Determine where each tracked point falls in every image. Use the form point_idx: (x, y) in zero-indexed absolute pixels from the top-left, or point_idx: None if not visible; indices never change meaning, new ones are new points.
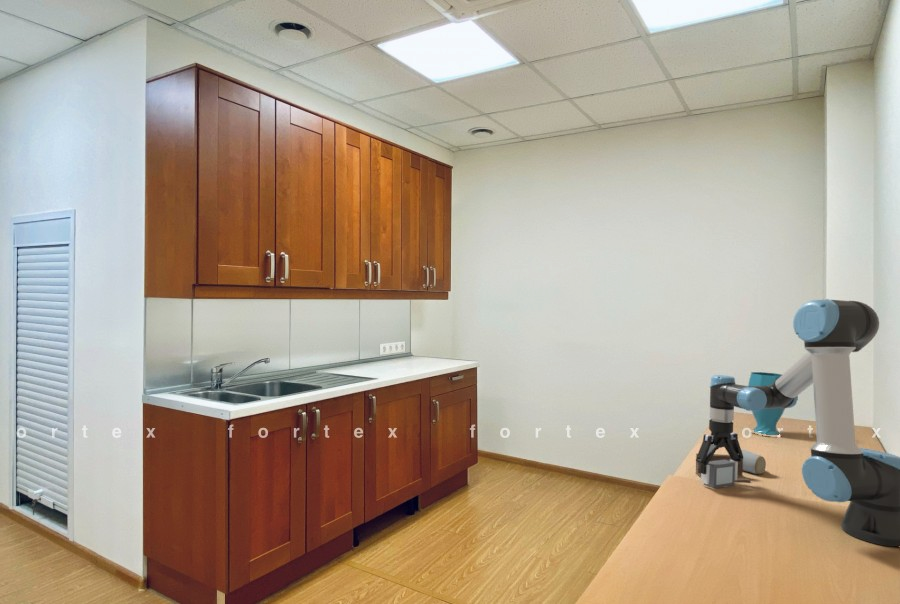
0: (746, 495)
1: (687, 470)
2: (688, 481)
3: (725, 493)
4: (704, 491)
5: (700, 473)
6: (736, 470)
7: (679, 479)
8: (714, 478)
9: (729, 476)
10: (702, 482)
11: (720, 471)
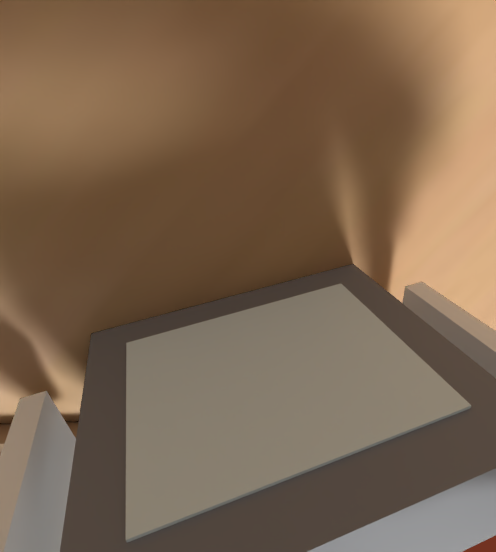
0: (182, 2)
1: None
2: None
3: (367, 130)
4: (475, 205)
5: None
6: (3, 512)
7: None
8: (404, 313)
9: (180, 381)
10: None
11: (370, 390)
